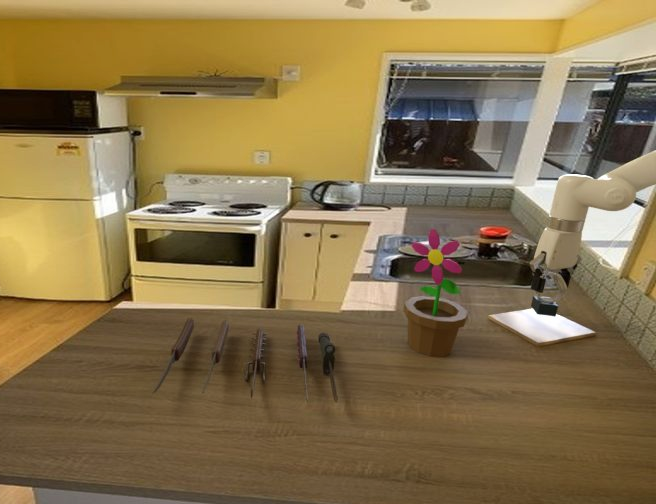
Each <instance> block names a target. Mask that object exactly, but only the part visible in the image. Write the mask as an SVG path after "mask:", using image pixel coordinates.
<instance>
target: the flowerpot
mask: <svg viewBox="0 0 656 504" xmlns="http://www.w3.org/2000/svg"><path fill="white" fill-rule="evenodd" d="M427 238H428V246H429V247H430V249H431V250H430V249H429V247H428V246H427V245H426V244H424V243H422V242H419V241H417V242H416V241H413V242H412V243H411V247H412V249H413V250H414V252H416V253H417V254H418V255H421V256H427V258H423V259H421V260H419V261H418V262H416V264H415V266H414V268H413V270H414V272H415V273H422V272H424V271H426V270H428V269H430V267H431V265H433V266H432V269H431V276H432V277H431V278H432V280H433V281H434V283H435V285H436V288H435V287H433V286H429V285H427V286H421V287H420V290H421V291H422V292H424V293H425V294H426V295H417V296H412V297H409V298H407V299H406V301H405V302H404V303H403V313H404V315H405V317H406V318H407V343H408V345H409V347H410V348H411V350H413V351H415V352H416V353H418V354H420V355H421V354H422V355H424V356H428V357H435V358H436V357H437V358H441V357H446V356H449V355H450V354H451V353H452V351H453V348H454V345H455V342H456V339H457V336H458V333H459V330H460V329H461V328H464V327H465V325H466V324H467V321H468V315H469V312H468V311H467V309H466V308H465V307H464V306H463V305H461V304H459V303H457V302H455V301H454V300H453V301H452V300H450V299H446V298H442V297H441V289H443V290H444V291H445V292H446V293H448V294H451V295H459V294H460V292H461V291H460V290H459V289H460V288H459V287H458V286H457V284H456V282H454V281H453V280H451V279H450V278H444V271H443V268H444V269H445V270H447V271H449V272H450V273H452V274H461V273H462V271H463V269H462V267H461V266H460V265H459V262H456V261H455V260H453V259H451V258H445V257H444V256H450V255H452V254H453V253H455V252H456V251H457V250H458V248H459V247H460V244H461V243H460V242H459V241H458V240H452V241H451V240H450V241H449V242H446V243H445V244H444V245H442V247H441V249H439V246H440V245H441V242H440V234H439V233H438V232H437V230H436V229H435V228H432V229H430V231H429V233H428V236H427Z"/></svg>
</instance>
